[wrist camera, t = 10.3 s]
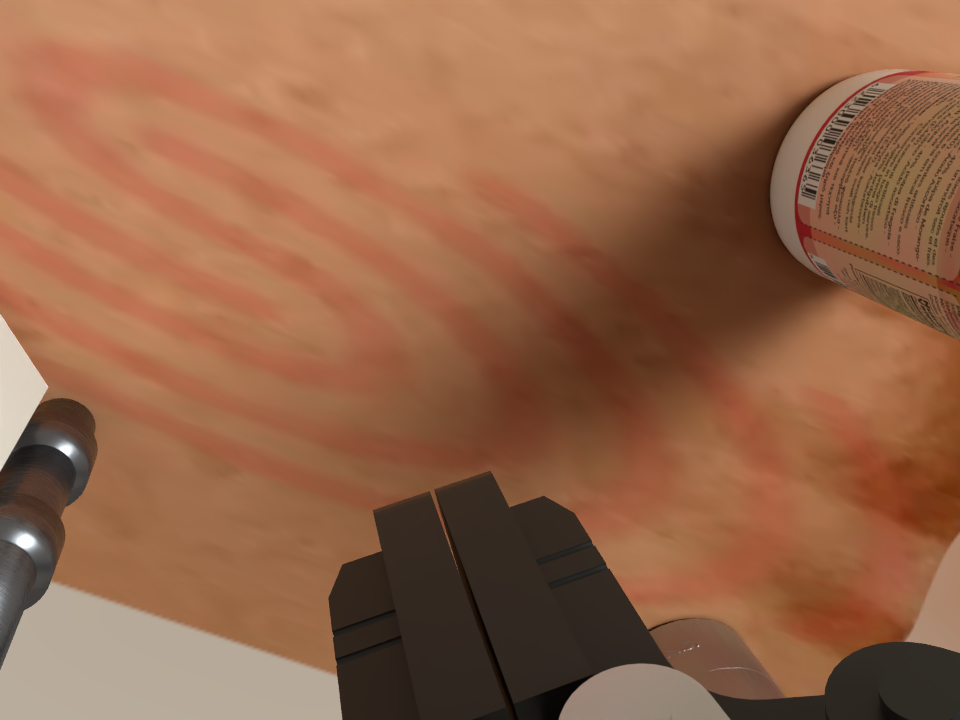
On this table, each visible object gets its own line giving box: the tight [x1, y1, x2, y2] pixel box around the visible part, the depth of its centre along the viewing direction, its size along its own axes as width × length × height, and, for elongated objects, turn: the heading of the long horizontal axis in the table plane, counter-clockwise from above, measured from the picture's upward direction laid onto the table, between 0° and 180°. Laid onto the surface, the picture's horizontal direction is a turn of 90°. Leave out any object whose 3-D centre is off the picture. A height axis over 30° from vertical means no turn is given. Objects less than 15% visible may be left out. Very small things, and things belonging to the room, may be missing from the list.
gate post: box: [0, 398, 97, 669], centre depth 28 cm, size 3×3×14 cm
